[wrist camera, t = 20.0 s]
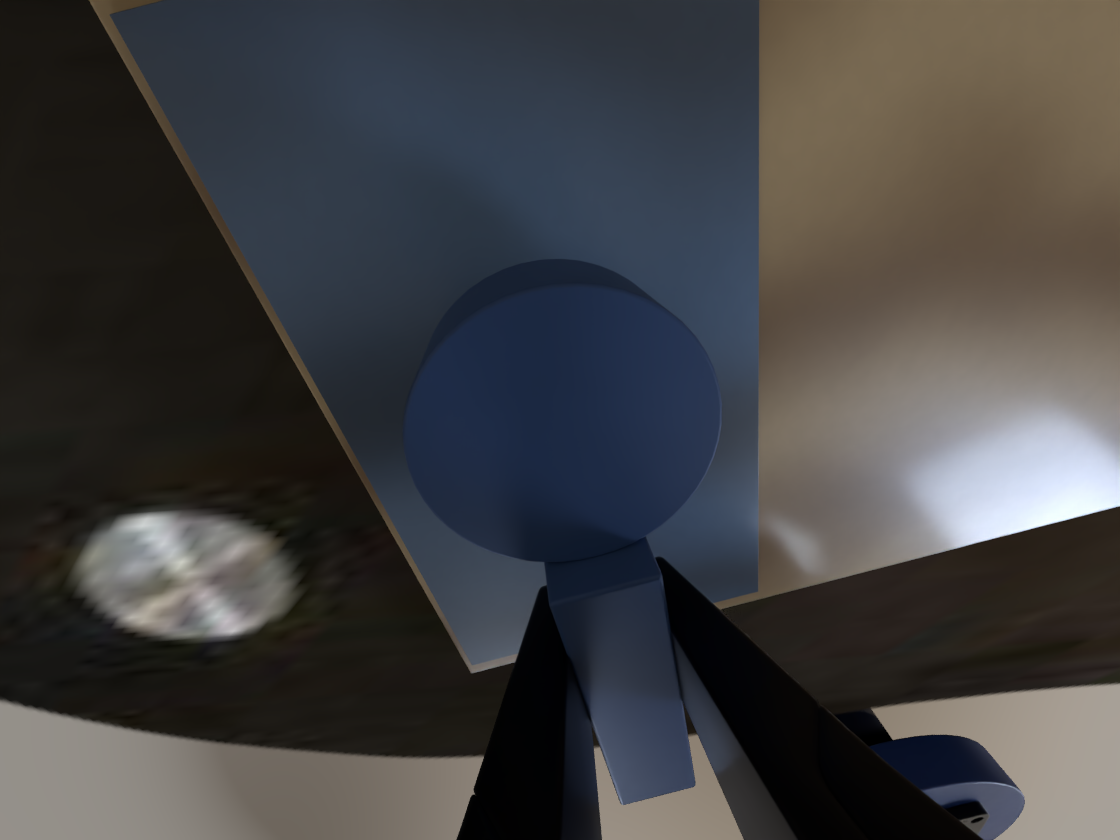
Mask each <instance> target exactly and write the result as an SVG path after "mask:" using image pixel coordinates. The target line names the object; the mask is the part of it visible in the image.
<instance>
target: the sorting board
mask: <svg viewBox="0 0 1120 840" xmlns="http://www.w3.org/2000/svg"><path fill="white" fill-rule="evenodd" d="M89 1H90V3H91V5H92V7H93V8H94V10H95V12H96V14H97V15H98V17H99V19H100V21H101V22H102V24H103V26H104V28H105V29H106V31H107V33H108V35H109V37H110V38H111V40H112V42H113V44H114V45H115V47H116V49H117V51H118V52H119V54H120V56H121V58H122V59H123V61H124V63H125V65H126V66H127V68H128V70H129V72H130V73H131V75H132V77H133V79H134V81H135V82H136V84H137V86H138V88H139V89H140V91H141V93H142V95H143V96H144V98H145V100H146V102H147V103H148V105H149V107H150V109H151V110H152V112H153V114H154V116H155V118H156V119H157V121H158V123H159V125H160V126H161V128H162V130H163V132H164V133H165V135H166V137H167V139H168V140H169V142H170V144H171V146H172V147H173V149H174V151H175V153H176V154H177V156H178V158H179V160H180V162H181V163H182V165H183V167H184V169H185V170H186V172H187V174H188V176H189V177H190V179H191V181H192V183H193V184H194V186H195V188H196V190H197V191H198V193H199V195H200V197H201V198H202V200H203V202H204V204H205V206H206V207H207V209H208V211H209V213H210V214H211V216H212V218H213V220H214V221H215V223H216V225H217V227H218V228H219V230H220V232H221V234H222V235H223V237H224V239H225V241H226V243H227V244H228V246H229V248H230V250H231V251H232V253H233V255H234V257H235V258H236V260H237V262H238V264H239V265H240V267H241V269H242V271H243V272H244V274H245V276H246V278H247V279H248V281H249V283H250V285H251V287H252V288H253V290H254V292H255V294H256V295H257V297H258V299H259V301H260V302H261V304H262V306H263V308H264V309H265V311H266V313H267V315H268V316H269V318H270V320H271V322H272V323H273V325H274V327H275V329H276V331H277V332H278V334H279V336H280V338H281V339H282V341H283V343H284V345H285V346H286V348H287V350H288V352H289V353H290V355H291V357H292V359H293V360H294V362H295V364H296V366H297V368H298V369H299V371H300V373H301V375H302V376H303V378H304V380H305V382H306V383H307V385H308V387H309V389H310V390H311V392H312V394H313V396H314V397H315V399H316V401H317V403H318V404H319V406H320V408H321V410H322V412H323V413H324V415H325V417H326V419H327V420H328V422H329V424H330V426H331V427H332V429H333V431H334V433H335V434H336V436H337V438H338V440H339V441H340V443H341V445H342V447H343V448H344V450H345V452H346V454H347V456H348V457H349V459H350V461H351V463H352V464H353V466H354V468H355V470H356V471H357V473H358V475H359V477H360V478H361V480H362V482H363V484H364V485H365V487H366V489H367V491H368V493H369V494H370V496H371V498H372V500H373V501H374V503H375V505H376V507H377V508H378V510H379V512H380V514H381V515H382V517H383V519H384V521H385V522H386V524H387V526H388V528H389V529H390V531H391V533H392V535H393V537H394V538H395V540H396V542H397V544H398V545H399V547H400V549H401V551H402V552H403V554H404V556H405V558H406V559H407V561H408V563H409V565H410V566H411V568H412V570H413V572H414V573H415V575H416V577H417V579H418V581H419V582H420V584H421V586H422V588H423V589H424V591H425V593H426V595H427V596H428V598H429V600H430V602H431V603H432V605H433V607H434V609H435V610H436V612H437V614H438V616H439V618H440V619H441V621H442V623H443V625H444V626H445V628H446V630H447V632H448V633H449V635H450V637H451V639H452V640H453V642H454V644H455V646H456V647H457V649H458V651H459V653H460V654H461V656H462V658H463V660H464V662H465V663H466V665H467V667H468V669H469V670H470V672H471V673H475V672H479V671H483V670H487V669H490V668H494V667H498V666H502V665H506V664H510V663H514V662H515V661H516V658H517V655H518V652H519V649H520V646H521V643H522V640H523V637H524V633H525V630H526V627H527V624H528V621H529V618H530V615H531V612H532V609H533V606H534V603H535V600H536V597H537V594H538V591H539V589H540V588H541V587H542V586H545V585H547V582H546V574H545V566H544V562H534V561H525V560H519V559H514V558H509V557H506V556H502V555H499V554H496V553H492V552H490V551H488V550H485V549H483V548H481V547H478V546H476V545H474V544H472V543H471V542H469V541H467V540H465V539H464V538H462V537H460V536H459V535H458V534H456V533H455V532H454V531H452V530H451V529H450V528H448V527H447V526H446V525H445V524H444V523H443V522H442V521H441V520H440V519H439V518H438V517H437V516H436V515H435V514H434V513H433V512H432V511H431V509H430V508H429V507H428V505H427V504H426V503H425V502H424V500H423V498H422V497H421V495H420V493H419V492H418V490H417V488H416V486H415V484H414V482H413V479H412V477H411V474H410V472H409V469H408V466H407V462H406V458H405V453H404V447H403V432H402V429H403V418H404V410H405V406H406V402H407V398H408V394H409V391H410V388H411V386H412V383H413V381H414V378H415V376H416V373H417V371H418V368H419V366H420V364H421V361H422V359H423V356H424V354H425V351H426V349H427V346H428V344H429V342H430V339H431V337H432V335H433V332H434V330H435V329H436V327H437V325H438V324H439V322H440V321H441V319H442V317H443V316H444V314H445V313H446V312H447V311H448V310H449V308H450V307H451V306H452V305H453V304H454V302H455V301H456V300H457V299H459V298H460V297H461V296H462V295H463V294H464V293H465V292H466V291H467V290H468V289H470V288H471V287H473V286H474V285H476V284H477V283H479V282H480V281H482V280H483V279H484V278H486V277H488V276H490V275H492V274H494V273H496V272H498V271H500V270H502V269H505V268H508V267H511V266H514V265H517V264H520V263H525V262H531V261H536V260H544V259H568V260H579V261H583V262H588V263H592V264H596V265H599V266H602V267H604V268H607V269H609V270H612V271H614V272H616V273H618V274H620V275H622V276H623V277H625V278H627V279H629V280H630V281H632V282H633V283H634V284H635V285H637V286H638V287H639V288H641V289H642V290H643V291H644V292H646V293H647V294H648V295H649V296H651V297H652V298H653V299H655V300H656V301H657V302H658V303H660V304H661V305H662V306H663V307H665V308H666V309H667V310H669V311H670V312H671V313H672V314H674V315H675V316H676V317H677V318H679V319H680V320H681V321H682V322H683V323H684V324H685V325H686V326H687V327H688V328H689V329H690V330H691V331H692V332H693V333H694V335H695V336H696V337H697V339H698V340H699V341H700V343H701V344H702V346H703V347H704V349H705V350H706V352H707V354H708V356H709V358H710V360H711V363H712V365H713V367H714V369H715V372H716V376H717V379H718V383H719V386H720V394H721V402H722V424H721V430H720V436H719V442H718V445H717V448H716V452H715V455H714V458H713V460H712V462H711V465H710V467H709V469H708V471H707V473H706V475H705V477H704V478H703V480H702V482H701V483H700V485H699V486H698V488H697V490H696V491H695V492H694V493H693V495H692V496H691V497H690V498H689V500H688V501H687V502H686V503H685V504H684V505H683V506H682V507H681V508H680V509H679V510H678V511H677V513H676V514H675V515H673V516H672V517H671V518H670V519H669V520H667V521H666V522H665V523H664V524H663V525H661V526H660V527H659V528H657V529H656V530H654V531H653V532H651V533H650V534H648V535H647V536H646V537H647V540H648V542H649V545H650V547H651V550H652V552H653V554H654V557H658V556H660V557H663V558H664V559H666V560H667V561H668V562H669V563H670V564H671V565H672V566H673V567H674V568H675V569H676V570H677V571H679V572H680V573H681V574H682V575H683V576H684V577H685V578H686V579H687V580H688V581H689V582H690V583H692V584H693V585H694V586H695V587H696V588H697V589H698V590H699V591H700V592H701V593H702V594H703V595H704V596H706V597H707V598H708V599H709V600H710V601H711V602H712V603H713V604H714V605H715V606H716V607H717V608H719V609H723V608H727V607H731V606H735V605H738V604H742V603H746V602H750V601H754V600H758V599H762V598H766V597H769V596H773V595H777V594H781V593H785V592H789V591H793V590H797V589H800V588H804V587H808V586H812V585H816V584H820V583H824V582H828V581H831V580H835V579H839V578H843V577H847V576H851V575H855V574H859V573H862V572H866V571H870V570H874V569H878V568H882V567H886V566H890V565H893V564H897V563H901V562H905V561H909V560H913V559H917V558H921V557H924V556H928V555H932V554H936V553H940V552H944V551H948V550H952V549H955V548H959V547H963V546H967V545H971V544H975V543H979V542H983V541H986V540H990V539H994V538H998V537H1002V536H1006V535H1010V534H1014V533H1017V532H1021V531H1025V530H1029V529H1033V528H1037V527H1041V526H1045V525H1048V524H1052V523H1056V522H1060V521H1064V520H1068V519H1072V518H1076V517H1079V516H1083V515H1087V514H1091V513H1095V512H1099V511H1103V510H1107V509H1110V508H1114V507H1118V506H1120V0H89Z"/></svg>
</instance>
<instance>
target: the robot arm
mask: <svg viewBox="0 0 1120 840" xmlns="http://www.w3.org/2000/svg"><path fill="white" fill-rule="evenodd" d="M655 559H656V562H657V564H658V566H659V569H660V571H661V574H662V577H663V583H664V589H665V596H666V602H667V608H668V614H669V621H670V630H671V637H672V643H673V649H674V655H675V661H676V667H677V674H678V680H679V686H680V692H681V698H682V700H683V703H684V705H685V707H686V709H687V712H688V714H689V716H690V718H691V721H692V723H693V725H694V727H695V730H696V732H697V734H698V736H699V739H700V741H701V743H702V745H703V748H704V750H705V752H706V755H707V757H708V759H709V761H710V764H711V766H712V768H713V770H714V773H715V775H716V777H717V780H718V782H719V784H720V786H721V788H722V791H723V793H724V795H725V798H726V800H727V802H728V804H729V806H730V809H731V811H732V814H733V816H734V818H735V820H736V823H737V825H738V827H739V829H740V832H741V834H742V836H743V838H744V840H984V839H982V838H981V837H980V836H979V835H978V834H979V832H980V831H981V829H982V828H983V826H984V825H985V823H986V821H987V820H988V818H989V817H990V815H989V813H988V812H987V811H986V810H985V808H984V807H983V806H982V804H981V803H980V802H979V801H974V802H969V803H965V804H962V805H958V806H954V807H950V808H946V809H944V808H943V807H942V806H940V805H939V804H938V803H936V802H935V801H934V800H933V799H931V798H930V797H929V796H928V795H926V794H925V793H924V792H923V791H921V790H920V789H919V788H918V787H917V786H915V785H914V784H913V783H912V782H910V781H909V780H908V779H907V778H905V777H904V776H903V775H902V774H901V773H899V772H898V771H897V770H896V769H894V768H893V767H892V766H891V765H889V764H888V763H887V762H886V761H885V760H883V759H882V758H881V757H880V756H879V755H878V754H877V753H876V752H874V751H873V750H872V749H871V748H870V747H869V746H868V745H866V744H865V743H864V742H863V741H862V740H861V739H860V738H859V737H857V736H856V735H855V734H854V733H853V732H852V731H851V730H850V729H848V728H847V727H846V726H845V725H844V724H843V723H842V722H841V721H840V720H839V719H838V718H836V717H835V716H834V715H833V714H832V713H831V712H830V711H829V710H828V709H827V708H826V707H825V706H823V705H821V706H819V702H818V700H817V699H816V698H815V697H813V696H812V695H811V694H810V693H809V692H808V691H807V690H806V689H805V688H804V687H803V686H802V685H801V684H799V683H798V682H797V681H796V680H795V679H794V678H793V677H792V676H791V675H790V674H789V673H788V672H786V671H785V670H784V669H783V668H782V667H781V666H780V665H779V664H778V663H777V662H776V661H775V660H774V659H772V658H771V657H770V656H769V655H768V654H767V653H766V652H765V651H764V650H763V649H762V648H761V647H760V646H758V645H757V644H756V643H755V642H754V641H753V640H752V639H751V638H750V637H749V636H748V635H747V634H745V633H744V632H743V631H742V630H741V629H740V628H739V627H738V626H737V625H736V624H735V623H734V622H733V621H731V620H730V619H729V618H728V617H727V616H726V615H725V614H724V613H723V612H722V611H721V610H720V609H719V608H717V607H716V606H715V605H714V604H713V603H712V602H711V601H710V600H709V599H708V598H707V597H706V596H704V595H703V594H702V593H701V592H700V591H699V590H698V589H697V588H696V587H695V586H694V585H693V584H692V583H690V582H689V581H688V580H687V579H686V578H685V577H684V576H683V575H682V574H681V573H680V572H679V571H677V570H676V569H675V568H674V567H673V566H672V565H671V564H670V563H669V562H668V561H667V560H666V559H664V558H663V557H660V556H658V557H655ZM474 793H475V795H472V796H471V798H470V801H469V804H468V807H467V810H466V813H465V817H464V819H463V822H462V826H461V828H460V831H459V834H458V837H457V840H602V835H601V824H600V813H599V802H598V791H597V780H596V769H595V759H594V747H593V736H592V725H591V719H590V716H589V713H588V711H587V708H586V705H585V702H584V699H583V696H582V694H581V691H580V688H579V685H578V682H577V680H576V677H575V674H574V671H573V668H572V666H571V663H570V660H569V657H568V655H567V653H566V650H565V647H564V645H563V642H562V639H561V636H560V634H559V631H558V628H557V625H556V622H555V620H554V617H553V614H552V611H551V608H550V606H549V599H548V591H547V585H545V586H542V587H541V588H540V589H539V591H538V594H537V597H536V600H535V603H534V606H533V609H532V612H531V615H530V618H529V621H528V624H527V627H526V630H525V633H524V637H523V640H522V643H521V646H520V649H519V652H518V655H517V658H516V661H515V664H514V667H513V670H512V673H511V676H510V679H509V682H508V685H507V689H506V692H505V695H504V698H503V701H502V704H501V707H500V710H499V713H498V716H497V719H496V722H495V725H494V728H493V731H492V734H491V737H490V741H489V744H488V747H487V750H486V753H485V756H484V759H483V762H482V765H481V768H480V771H479V774H478V777H477V780H476V784H475V786H474Z"/></svg>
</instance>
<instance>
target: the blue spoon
mask: <svg viewBox="0 0 1120 840" xmlns="http://www.w3.org/2000/svg"><path fill="white" fill-rule="evenodd" d="M721 424H722V402H721V394H720V386H719V383H718V379H717V376H716V372H715V369H714V367H713V365H712V363H711V360H710V358H709V356H708V354H707V352H706V350H705V349H704V347H703V346H702V344H701V343H700V341H699V340H698V339H697V337H696V336H695V335H694V333H693V332H692V331H691V330H690V329H689V328H688V327H687V326H686V325H685V324H684V323H683V322H682V321H681V320H680V319H679V318H677V317H676V316H675V315H674V314H672V313H671V312H670V311H669V310H667V309H666V308H665V307H663V306H662V305H661V304H660V303H658V302H657V301H656V300H655V299H653V298H652V297H651V296H649V295H648V294H647V293H646V292H644V291H643V290H642V289H641V288H639V287H638V286H637V285H635V284H634V283H633V282H632V281H630V280H629V279H627V278H625V277H623V276H622V275H620V274H618V273H616V272H614V271H612V270H609V269H607V268H604V267H602V266H599V265H596V264H592V263H588V262H583V261H579V260H568V259H544V260H536V261H531V262H525V263H520V264H517V265H514V266H511V267H508V268H505V269H502V270H500V271H498V272H496V273H494V274H492V275H490V276H488V277H486V278H484V279H483V280H482V281H480V282H479V283H477V284H476V285H474V286H473V287H471V288H470V289H468V290H467V291H466V292H465V293H464V294H463V295H462V296H461V297H460V298H459V299H457V300H456V301H455V302H454V304H453V305H452V306H451V307H450V308H449V310H448V311H447V312H446V313H445V314H444V316H443V317H442V319H441V321H440V322H439V324H438V325H437V327H436V329H435V330H434V332H433V335H432V337H431V339H430V342H429V344H428V346H427V349H426V351H425V354H424V356H423V359H422V361H421V364H420V366H419V368H418V371H417V373H416V376H415V378H414V381H413V383H412V386H411V388H410V391H409V394H408V398H407V402H406V406H405V410H404V418H403V429H402V432H403V447H404V453H405V458H406V462H407V466H408V469H409V472H410V474H411V477H412V479H413V482H414V484H415V486H416V488H417V490H418V492H419V493H420V495H421V497H422V498H423V500H424V502H425V503H426V504H427V505H428V507H429V508H430V509H431V511H432V512H433V513H434V514H435V515H436V516H437V517H438V518H439V519H440V520H441V521H442V522H443V523H444V524H445V525H446V526H447V527H448V528H450V529H451V530H452V531H454V532H455V533H456V534H458V535H459V536H460V537H462V538H464V539H465V540H467V541H469V542H471V543H472V544H474V545H476V546H478V547H481V548H483V549H485V550H488V551H490V552H492V553H496V554H499V555H502V556H506V557H509V558H514V559H519V560H525V561H534V562H544V566H545V574H546V582H547V591H548V599H549V606H550V608H551V611H552V614H553V617H554V620H555V622H556V625H557V628H558V631H559V634H560V636H561V639H562V642H563V645H564V647H565V650H566V653H567V655H568V657H569V660H570V663H571V666H572V668H573V671H574V674H575V677H576V680H577V682H578V685H579V688H580V691H581V694H582V696H583V699H584V702H585V705H586V708H587V711H588V713H589V716H590V719H591V723H592V726H593V728H594V731H595V734H596V737H597V740H598V742H599V745H600V748H601V751H602V753H603V756H604V759H605V761H606V764H607V767H608V770H609V773H610V776H611V779H612V781H613V784H614V787H615V790H616V793H617V795H618V798H619V801H620V803H621V804H622V805H626V804H630V803H633V802H637V801H641V800H645V799H649V798H653V797H657V796H660V795H664V794H668V793H672V792H676V791H680V790H684V789H688V788H691V787H694V786H695V777H694V770H693V764H692V758H691V752H690V746H689V740H688V733H687V727H686V720H685V714H684V708H683V702H682V698H681V692H680V686H679V680H678V674H677V667H676V661H675V655H674V649H673V643H672V637H671V630H670V621H669V614H668V608H667V602H666V596H665V589H664V583H663V577H662V574H661V571H660V569H659V566H658V564H657V562H656V559H655V557H654V554H653V552H652V550H651V547H650V545H649V542H648V540H647V537H646V536H647V535H648V534H650V533H651V532H653V531H654V530H656V529H657V528H659V527H660V526H661V525H663V524H664V523H665V522H666V521H667V520H669V519H670V518H671V517H672V516H673V515H675V514H676V513H677V511H678V510H679V509H680V508H681V507H682V506H683V505H684V504H685V503H686V502H687V501H688V500H689V498H690V497H691V496H692V495H693V493H694V492H695V491H696V490H697V488H698V486H699V485H700V483H701V482H702V480H703V478H704V477H705V475H706V473H707V471H708V469H709V467H710V465H711V462H712V460H713V458H714V455H715V452H716V448H717V445H718V442H719V436H720V430H721Z"/></svg>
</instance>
